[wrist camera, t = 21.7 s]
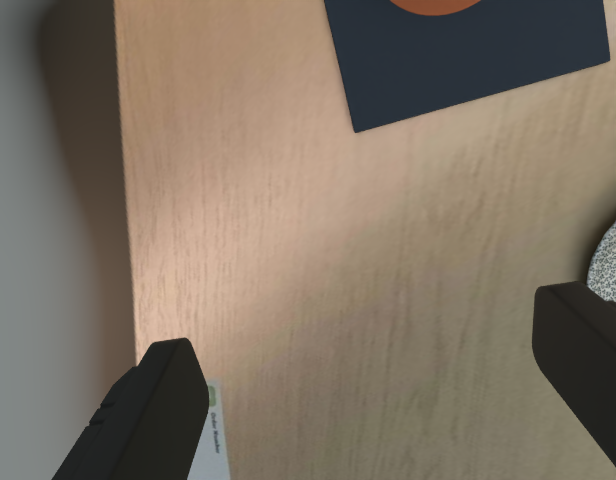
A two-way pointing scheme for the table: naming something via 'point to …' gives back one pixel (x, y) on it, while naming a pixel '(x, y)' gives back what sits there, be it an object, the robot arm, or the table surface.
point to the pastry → (604, 267)
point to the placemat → (456, 50)
